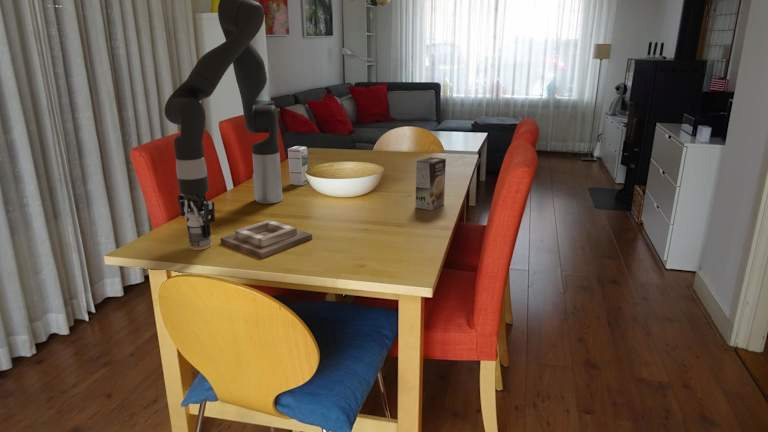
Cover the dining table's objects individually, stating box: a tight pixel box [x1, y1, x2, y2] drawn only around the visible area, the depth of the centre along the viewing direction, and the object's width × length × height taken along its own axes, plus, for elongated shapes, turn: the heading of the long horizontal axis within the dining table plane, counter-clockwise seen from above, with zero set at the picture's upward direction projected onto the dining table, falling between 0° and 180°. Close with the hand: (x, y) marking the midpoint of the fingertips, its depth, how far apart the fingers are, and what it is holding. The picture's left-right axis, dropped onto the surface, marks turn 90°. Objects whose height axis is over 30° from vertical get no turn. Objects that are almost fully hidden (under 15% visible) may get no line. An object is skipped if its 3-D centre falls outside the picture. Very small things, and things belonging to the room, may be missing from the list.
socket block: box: [219, 219, 313, 259], centre depth 149 cm, size 18×18×4 cm
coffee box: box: [415, 156, 447, 211], centre depth 178 cm, size 9×6×16 cm
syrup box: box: [287, 145, 310, 186], centre depth 208 cm, size 6×6×14 cm
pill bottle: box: [186, 211, 212, 251], centre depth 144 cm, size 6×6×10 cm
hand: (199, 234), depth 144 cm, fingers open, 6 cm apart
